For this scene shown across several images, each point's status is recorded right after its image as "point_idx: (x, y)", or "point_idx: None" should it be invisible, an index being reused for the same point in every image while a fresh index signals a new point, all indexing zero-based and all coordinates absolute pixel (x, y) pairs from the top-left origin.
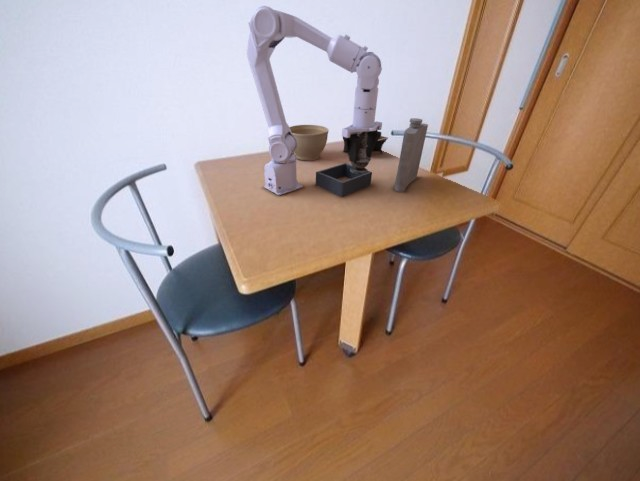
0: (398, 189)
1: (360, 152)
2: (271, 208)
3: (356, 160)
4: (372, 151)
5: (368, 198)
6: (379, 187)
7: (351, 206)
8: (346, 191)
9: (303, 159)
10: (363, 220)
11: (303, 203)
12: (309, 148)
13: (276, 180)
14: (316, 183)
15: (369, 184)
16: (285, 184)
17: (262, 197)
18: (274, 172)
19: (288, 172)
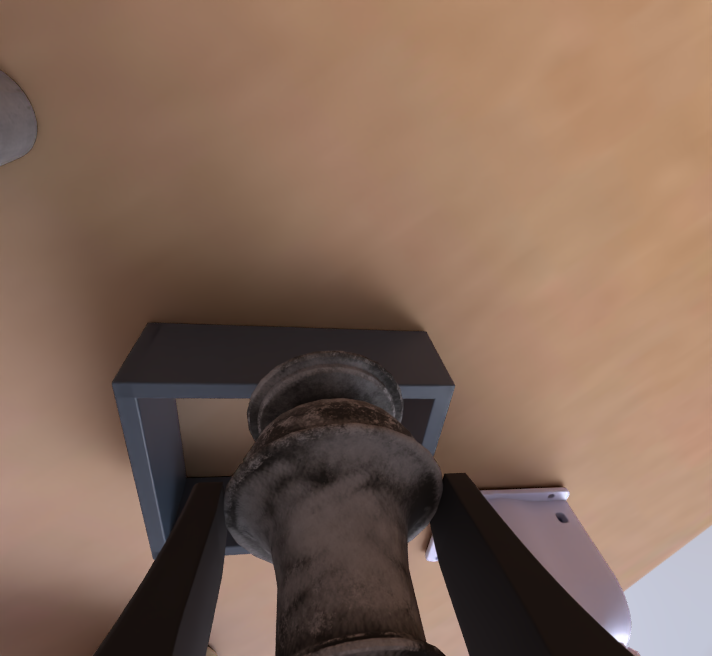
0: (15, 100)
1: (404, 570)
2: (670, 434)
3: (457, 487)
4: (170, 546)
5: (332, 214)
6: (114, 262)
7: (498, 225)
8: (397, 344)
9: (210, 651)
10: (639, 46)
11: (582, 396)
12: None
13: (598, 552)
14: None
15: (160, 327)
16: (540, 525)
17: (601, 502)
18: (623, 594)
19: (556, 578)
